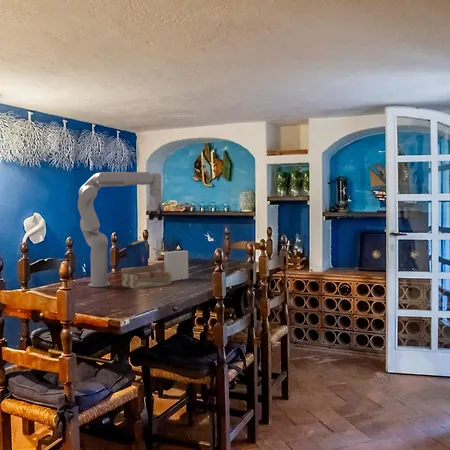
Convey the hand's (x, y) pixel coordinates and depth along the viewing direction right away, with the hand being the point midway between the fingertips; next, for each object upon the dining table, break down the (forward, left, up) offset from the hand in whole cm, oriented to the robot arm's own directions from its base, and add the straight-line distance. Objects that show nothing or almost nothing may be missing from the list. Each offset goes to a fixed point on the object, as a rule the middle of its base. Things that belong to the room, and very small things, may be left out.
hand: (155, 220), depth 312 cm
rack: (+10, -14, -38) cm, 42 cm away
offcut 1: (+14, -19, -38) cm, 45 cm away
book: (-8, -9, -38) cm, 40 cm away
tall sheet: (+6, +11, -38) cm, 40 cm away
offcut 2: (+14, -9, -38) cm, 42 cm away
